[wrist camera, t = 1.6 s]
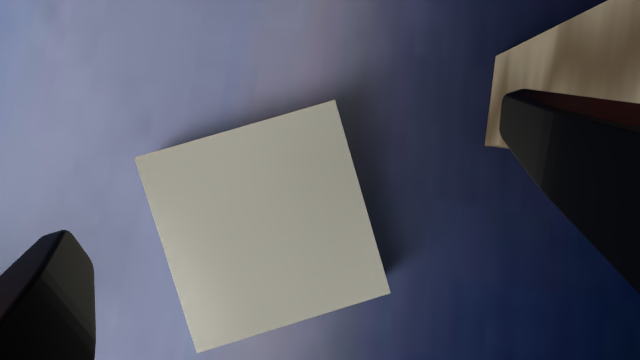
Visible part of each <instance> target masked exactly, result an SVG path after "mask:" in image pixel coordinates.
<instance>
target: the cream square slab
mask: <svg viewBox="0 0 640 360" xmlns="http://www.w3.org/2000/svg"><path fill="white" fill-rule="evenodd" d="M134 159H135V162H136V165H137V168H138V171H139V174H140V177H141V180H142V184H143V187H144V190H145V193H146V196H147V199H148V202H149V205H150V208H151V212H152V215H153V218H154V221H155V224H156V227H157V230H158V233H159V236H160V240H161V243H162V246H163V249H164V252H165V255H166V258H167V261H168V265H169V268H170V271H171V274H172V277H173V280H174V283H175V286H176V289H177V293H178V296H179V299H180V302H181V305H182V308H183V311H184V314H185V318H186V321H187V324H188V327H189V330H190V333H191V336H192V339H193V342H194V346H195V349H196V352H197V353H200V352H203V351H206V350H209V349H213V348H216V347H219V346H222V345H225V344H229V343H232V342H235V341H238V340H241V339H245V338H248V337H251V336H254V335H258V334H261V333H264V332H267V331H270V330H274V329H277V328H280V327H283V326H286V325H290V324H293V323H296V322H299V321H302V320H306V319H309V318H312V317H315V316H319V315H322V314H325V313H328V312H331V311H335V310H338V309H341V308H344V307H347V306H351V305H354V304H357V303H360V302H364V301H367V300H370V299H373V298H376V297H380V296H383V295H386V294H389V293H390V290H389V286H388V283H387V279H386V276H385V272H384V269H383V265H382V262H381V258H380V255H379V251H378V248H377V244H376V241H375V237H374V234H373V231H372V227H371V224H370V220H369V217H368V213H367V210H366V206H365V203H364V199H363V196H362V192H361V189H360V185H359V182H358V178H357V175H356V172H355V168H354V165H353V161H352V158H351V154H350V151H349V147H348V144H347V140H346V137H345V133H344V130H343V126H342V123H341V119H340V116H339V112H338V109H337V106H336V102H335V100H332V101H329V102H325V103H322V104H319V105H315V106H312V107H308V108H305V109H301V110H298V111H294V112H291V113H287V114H284V115H280V116H277V117H274V118H270V119H267V120H263V121H260V122H256V123H253V124H249V125H246V126H242V127H239V128H235V129H232V130H228V131H225V132H222V133H218V134H215V135H211V136H208V137H204V138H201V139H197V140H194V141H190V142H187V143H183V144H180V145H177V146H173V147H170V148H166V149H163V150H159V151H156V152H152V153H149V154H145V155H142V156H138V157H135V158H134Z"/></svg>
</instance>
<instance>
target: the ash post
mask: <svg viewBox="0 0 640 360" xmlns="http://www.w3.org/2000/svg"><path fill="white" fill-rule="evenodd" d="M519 89H531V90H539V91H547V92H554V93H562V94H570V95H577V96H585V97H593V98H601V99H608V100H616V101H624V102H631V103H639V104H640V0H608V1H606V2H604V3H602V4H600V5H598V6H595V7H593V8H591V9H589V10H587V11H585V12H583V13H581V14H579V15H577V16H575V17H573V18H571V19H569V20H567V21H565V22H563V23H561V24H559V25H557V26H555V27H553V28H551V29H549V30H547V31H545V32H543V33H541V34H539V35H537V36H535V37H533V38H531V39H529V40H527V41H525V42H523V43H521V44H519V45H517V46H515V47H513V48H511V49H509V50H507V51H505V52H503V53H501V54H499V55H497V56H496V58H495V67H494V75H493V83H492V91H491V99H490V107H489V115H488V123H487V131H486V139H485V146H492V147H500V148H509V147H508V146H507V145H506V143H505V142H504V141H503V139H502V137H501V135H500V131H499V124H500V113H501V102H502V98H503V96H504V95H505V94H507V93H510V92H513V91H516V90H519Z"/></svg>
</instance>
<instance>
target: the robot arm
mask: <svg viewBox="0 0 640 360" xmlns="http://www.w3.org/2000/svg"><path fill="white" fill-rule="evenodd" d="M499 131H500V135H501V137H502V139H503V141H504V142H505V143H506V145H507V146H508V147H509V149H510V150H511V151H512V153H513V154H514V155H515V157H516V158H517V159H518V161H519V162H520V163H521V165H522V166H523V167H524V168H525V170H526V171H527V172H528V174H529V175H530V176H531V178H532V179H533V180H534V182H535V183H536V184H537V185H538V187H539V188H540V189H541V190H542V191H543V192H544V194H545V195H546V196H547V197H548V198H549V199H550V200H551V201H552V202H553V203H554V204H555V205H556V206H557V208H558V209H559V210H560V211H561V212H562V213H563V214H564V215H565V216H566V217H567V218H568V219H569V220H570V221H571V222H572V223H573V224H574V225H575V227H576V228H577V229H578V230H579V231H580V232H581V233H582V234H583V235H584V236H585V237H586V238H587V239H588V240H589V241H590V242H591V243H592V245H593V246H594V247H595V248H596V249H597V250H598V251H599V252H600V253H601V254H602V255H603V256H604V257H605V258H606V259H607V260H608V261H609V262H610V264H611V265H612V266H613V267H614V268H615V269H616V270H617V271H618V272H619V273H620V274H621V275H622V276H623V277H624V278H625V279H626V280H627V281H628V283H629V284H630V285H631V286H632V287H633V288H634V289H635V290H636V291H637V292H638V293H639V294H640V104H639V103H631V102H624V101H616V100H608V99H601V98H593V97H585V96H577V95H570V94H562V93H554V92H547V91H539V90H531V89H519V90H516V91H513V92H510V93H507V94H505V95H504V96H503V98H502V102H501V113H500V124H499ZM95 345H96V320H95V290H94V268H93V264H92V262H91V260H90V258H89V257H88V255H87V254H86V252H85V251H84V250H83V248H82V247H81V245H80V244H79V243H78V241H77V240H76V239H75V237H74V236H73V235H72V233H70V232H69V231H67V230H61V231H57V232H54V233H51V234H48V235H45V236H43V237H41V238H40V239H39V240H38V241H37V242H36V243H35V244H34V245H32V246H31V247H30V248H29V249H28V250H27V251H26V252H25V253H24V254H23V255H22V256H21V257H20V258H19V259H18V260H16V261H15V262H14V263H13V264H12V265H11V266H10V267H9V268H8V269H7V270H6V271H5V272H4V273H3V274H2V275H1V276H0V360H94V358H95Z"/></svg>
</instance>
